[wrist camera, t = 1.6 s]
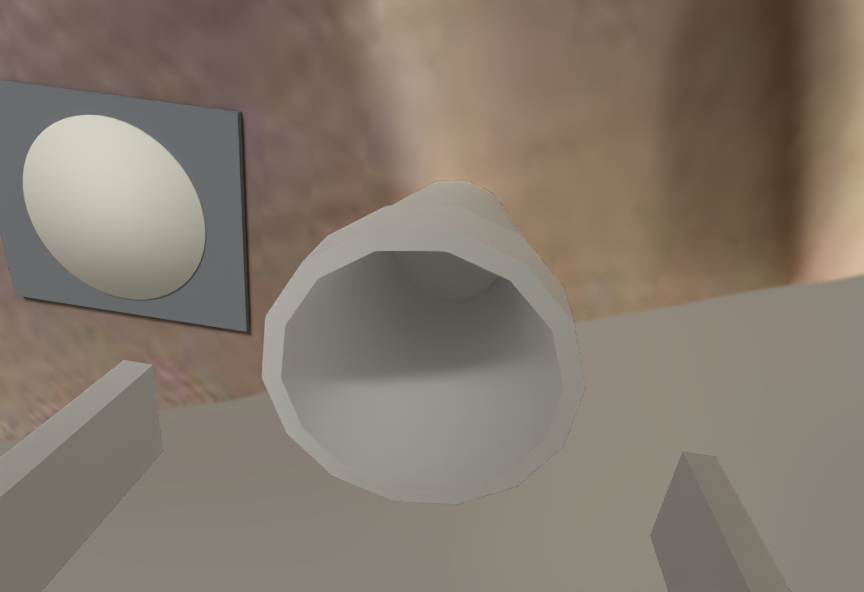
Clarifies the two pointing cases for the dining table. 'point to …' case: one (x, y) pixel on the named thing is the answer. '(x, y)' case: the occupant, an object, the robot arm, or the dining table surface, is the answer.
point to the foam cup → (426, 351)
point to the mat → (124, 204)
